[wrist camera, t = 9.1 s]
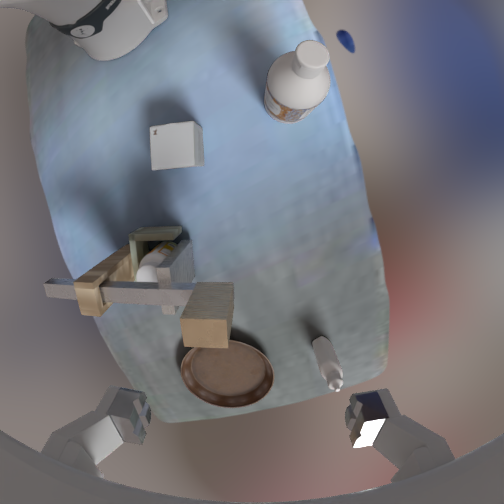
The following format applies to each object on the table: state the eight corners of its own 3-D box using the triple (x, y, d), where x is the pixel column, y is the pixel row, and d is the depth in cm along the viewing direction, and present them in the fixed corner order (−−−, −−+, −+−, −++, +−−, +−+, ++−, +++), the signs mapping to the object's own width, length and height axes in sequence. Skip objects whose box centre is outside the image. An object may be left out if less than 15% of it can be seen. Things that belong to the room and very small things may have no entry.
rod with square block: (89, 242, 43) (7, 289, 23) (238, 239, 43) (225, 303, 23) (94, 274, 45) (22, 333, 25) (239, 276, 44) (229, 361, 24)
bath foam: (255, 92, 37) (256, 35, 18) (296, 76, 36) (327, 14, 17) (276, 131, 39) (295, 101, 20) (317, 114, 38) (366, 76, 19)
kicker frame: (125, 227, 43) (68, 259, 27) (181, 225, 43) (142, 259, 27) (132, 283, 46) (87, 333, 30) (186, 285, 46) (156, 341, 30)
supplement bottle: (156, 272, 46) (135, 297, 36) (151, 241, 44) (127, 260, 35) (187, 271, 45) (171, 297, 36) (183, 239, 44) (165, 258, 35)
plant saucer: (169, 339, 50) (165, 348, 47) (262, 322, 48) (262, 332, 45) (201, 402, 55) (199, 411, 52) (281, 390, 53) (282, 400, 50)
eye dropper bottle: (311, 359, 51) (322, 403, 39) (311, 336, 49) (325, 379, 37) (333, 356, 50) (348, 399, 39) (335, 333, 49) (353, 375, 37)
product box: (166, 170, 41) (149, 171, 34) (165, 131, 39) (148, 125, 32) (205, 166, 41) (195, 166, 34) (203, 127, 39) (193, 119, 32)
